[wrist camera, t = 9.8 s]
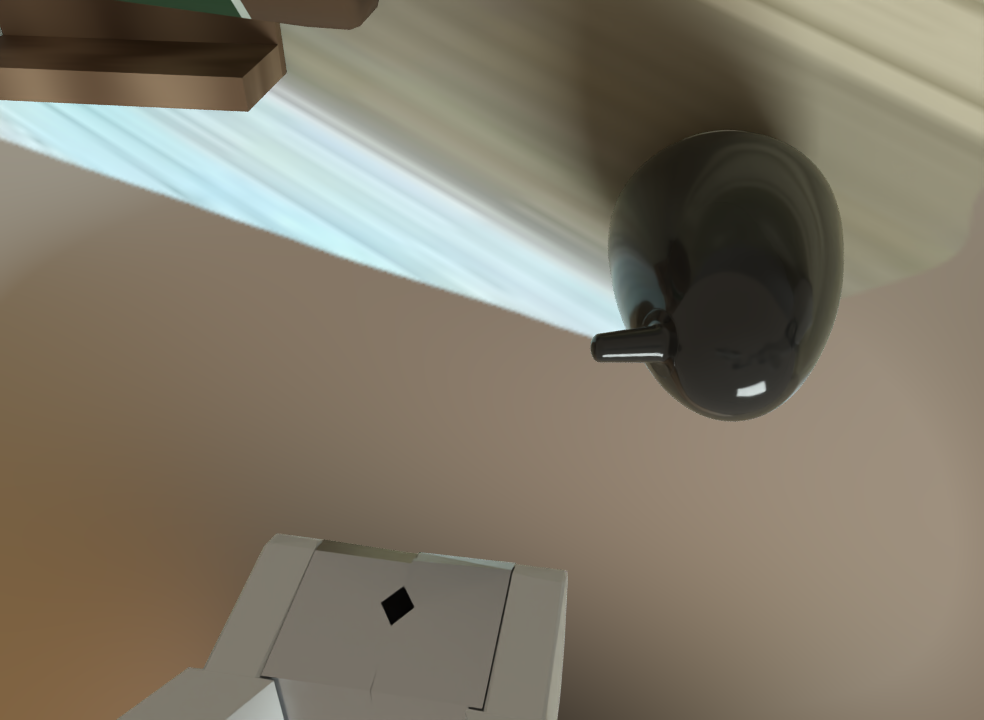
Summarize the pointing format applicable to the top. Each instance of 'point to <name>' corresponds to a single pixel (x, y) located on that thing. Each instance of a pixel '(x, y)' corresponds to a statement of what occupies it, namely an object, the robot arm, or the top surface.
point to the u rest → (135, 55)
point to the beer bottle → (281, 10)
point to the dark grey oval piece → (725, 272)
